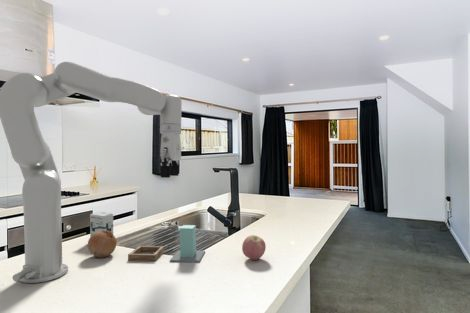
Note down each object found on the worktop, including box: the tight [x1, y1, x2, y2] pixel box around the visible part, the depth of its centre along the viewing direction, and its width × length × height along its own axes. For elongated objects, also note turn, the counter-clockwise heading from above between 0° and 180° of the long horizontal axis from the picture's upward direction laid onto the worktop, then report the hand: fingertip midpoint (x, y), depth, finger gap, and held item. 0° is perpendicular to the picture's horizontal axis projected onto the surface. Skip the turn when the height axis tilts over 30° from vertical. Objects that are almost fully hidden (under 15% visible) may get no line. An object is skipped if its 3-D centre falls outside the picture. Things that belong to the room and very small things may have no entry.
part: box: [179, 224, 197, 258], centre depth 106 cm, size 4×4×10 cm
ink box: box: [89, 211, 114, 238], centre depth 124 cm, size 9×5×12 cm, turn 62°
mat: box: [169, 249, 206, 263], centre depth 106 cm, size 10×10×1 cm
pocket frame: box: [127, 245, 165, 262], centre depth 107 cm, size 10×10×2 cm
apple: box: [241, 234, 267, 261], centre depth 103 cm, size 8×8×8 cm
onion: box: [87, 230, 117, 259], centre depth 108 cm, size 10×9×10 cm
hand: (170, 176), depth 110 cm, fingers open, 9 cm apart
